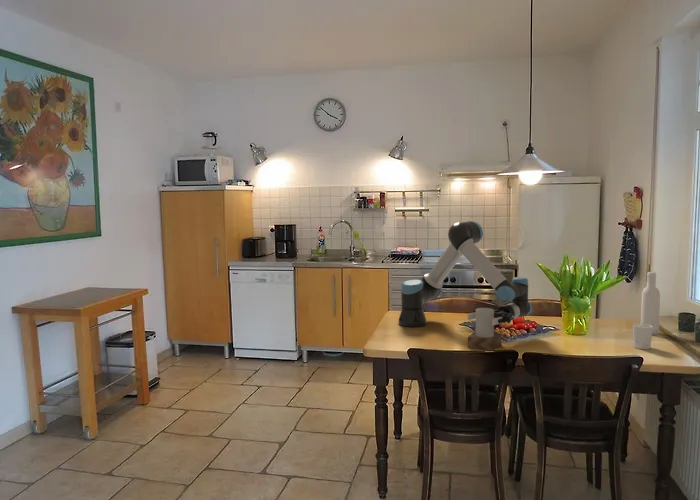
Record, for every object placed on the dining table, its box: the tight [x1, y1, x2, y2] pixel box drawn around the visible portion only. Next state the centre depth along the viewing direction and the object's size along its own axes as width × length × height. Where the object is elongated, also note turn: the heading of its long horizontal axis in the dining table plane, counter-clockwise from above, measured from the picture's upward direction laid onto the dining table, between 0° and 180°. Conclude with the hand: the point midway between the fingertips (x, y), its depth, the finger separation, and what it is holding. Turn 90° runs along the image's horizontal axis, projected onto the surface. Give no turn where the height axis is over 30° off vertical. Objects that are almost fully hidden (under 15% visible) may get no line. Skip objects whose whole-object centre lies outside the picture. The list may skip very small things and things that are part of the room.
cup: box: [475, 307, 495, 338], centre depth 239 cm, size 8×8×12 cm
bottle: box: [640, 271, 661, 336], centre depth 255 cm, size 8×8×30 cm
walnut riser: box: [467, 330, 502, 351], centre depth 239 cm, size 12×12×5 cm
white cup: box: [632, 322, 653, 350], centre depth 232 cm, size 8×8×10 cm
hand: (480, 319), depth 236 cm, fingers open, 13 cm apart
